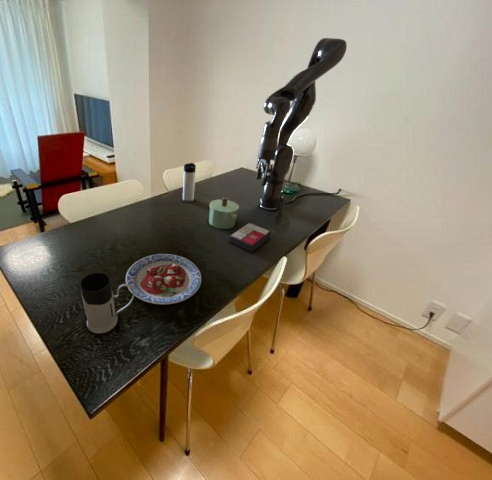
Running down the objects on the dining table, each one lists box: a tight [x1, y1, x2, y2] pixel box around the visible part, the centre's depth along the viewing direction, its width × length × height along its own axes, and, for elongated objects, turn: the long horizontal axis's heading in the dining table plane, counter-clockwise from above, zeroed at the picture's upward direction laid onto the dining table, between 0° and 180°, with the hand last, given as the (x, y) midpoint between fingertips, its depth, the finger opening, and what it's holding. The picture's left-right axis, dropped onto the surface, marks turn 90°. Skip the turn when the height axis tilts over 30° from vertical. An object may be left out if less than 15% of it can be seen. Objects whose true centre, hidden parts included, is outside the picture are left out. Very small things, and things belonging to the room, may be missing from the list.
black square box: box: [229, 222, 271, 253], centre depth 114 cm, size 11×4×15 cm
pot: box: [208, 207, 239, 230], centre depth 125 cm, size 13×18×8 cm
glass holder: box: [79, 271, 135, 334], centre depth 73 cm, size 9×14×15 cm, turn 93°
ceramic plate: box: [125, 253, 202, 306], centre depth 91 cm, size 26×26×3 cm
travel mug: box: [182, 162, 197, 203], centre depth 144 cm, size 6×7×20 cm
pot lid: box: [209, 196, 240, 213], centre depth 122 cm, size 14×14×5 cm
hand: (260, 182), depth 126 cm, fingers open, 8 cm apart
